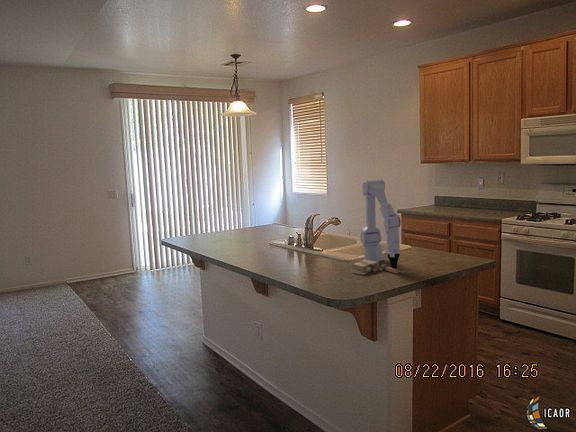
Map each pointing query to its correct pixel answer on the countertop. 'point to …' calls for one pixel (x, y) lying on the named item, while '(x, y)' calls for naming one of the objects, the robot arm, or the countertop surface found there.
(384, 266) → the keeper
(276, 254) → the countertop surface
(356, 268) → the block
